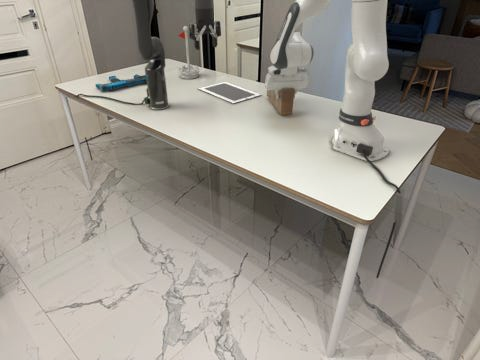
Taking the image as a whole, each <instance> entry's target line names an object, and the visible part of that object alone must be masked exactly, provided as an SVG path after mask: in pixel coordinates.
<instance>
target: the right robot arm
mask: <svg viewBox="0 0 480 360" xmlns="http://www.w3.org/2000/svg"><path fill="white" fill-rule="evenodd" d="M331 1H332V0H295V1H294V2H293V3H292V4H290V6H289V7H288V10H287V12H286V14H285V17H284V19H283V22H282V25H281V27H280V30H279V32H278V35H277V38H276V40H275V42H274V44H273V45H272V47H271V49H270V52H269V61H270V63H271V66H269V67H268V68H267V71H268V73H267V74H265V75H266V76H265V79H264V80H265V81H264V88H265V89H266V91H267V90H275V93H276V98H277V99H280V94H278V93H277V92H279V90H281V89H289V88H294V89H295V91H294V99H295V98H296V95H297V93H298V92H299V90H305V89H307V88H308V86H309V76H310V70H309V69H308V68H307V67H305V66H309V65H310V64H311V63H312V61H313V58H314V55H315V54H314V53H315V52H314V48H313V46H312V45H311V44H310V42H307V41H306V40H305V39H304V38H303V37H302V34H301V31H299V30H297V28H298V27H299V26H300V25H301V24H302V23H304V22H306V21H308V20H310V19H312V18H314V17H317V16H319V15H321V14H323V13H324V12H325V11H326V10H327V9H328V7H329V5H330V3H331ZM387 10H388V0H351V13H350V15H351V16H350V29H351V36H352V42H351V44H349V46H348V47H347V49H346V53H345V54H346V55H345V57H346V58H345V59H346V60H345V69H344V70H345V71H344V90H343V98H342V103H341V108H340V109H339V113H338V122H337V123H338V124H337V127H336V129H334V135H333V137H332V139H331V144H332V149H333V150H334V151H336V152H340V153H343V154H344V155H345V154H346V155H348V156H351V157H354V158H356V159H359V160H361V161H365V162H367V163H369V164H370V165H371V166H372V168H374V169H375V170H376V171H377V172H378V173H379V175H380V176H381V177H382V179H383V181H384V182H385V183H387V184H388V185H390V186H392V187H393V188H395V189H396V191H397V193H398V194H401V189H400V188H399V186H398V185H397V184H395V183H394V182H391V181H389V180H388V179H387V178H386V176H385V175H384V174H383V172H382V171H381V170H380V169H379V168H378V167H377V166H376V165H375V164H374V163H373V162H374V161H379V160H381V159H383V158H385V157H387V155H388V154H389V152H390V150H389V148H387V147H386V146H385V138H384V135H383V134H382V133H381V131H379V128H377V126H376V125H375V124H374V121H375V120H376V119H377V116H373V113H372V109H373V104H374V100H375V95H376V87H375V86H376V85H375V83H376V82H377V81H379V80H380V79H382V78H384V76H385V75H386V74H387V72H388V70H389V66H390V63H389V62H390V61H389V57H388V41H387V40H388V39H387V12H388V11H387ZM396 224H397V221H394V222H393V223H392V227H391V231H390V234H389V237H388V241H387V244H386V247H385V249H384V253H383V255H382V258H381V261H380V264H379V267H378V271H377V273H376V279H379V277H380V273H381V270H382V269H383V265H384V261H385V259H386V256H387V254H388V250H389V249H390V248H389V247H390V244H391V242H392V238H393V236H394V231H395V228H396Z"/></svg>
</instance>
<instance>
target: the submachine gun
mask: <svg viewBox="0 0 480 360" xmlns="http://www.w3.org/2000/svg"><path fill="white" fill-rule="evenodd" d="M108 80H109V81H110V82H108V83H94V84H95V88H97V89H98V90H99V91H101V92H104V91H111V90H112V91H116V90H115V89H119V88H124V87H128V86H133V85H138V84H143V83H147V81H146V75H145V74H143V75H140V74H134V75H133V78H128V79H120V78H117V76H116V75H110V76H108Z"/></svg>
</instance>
